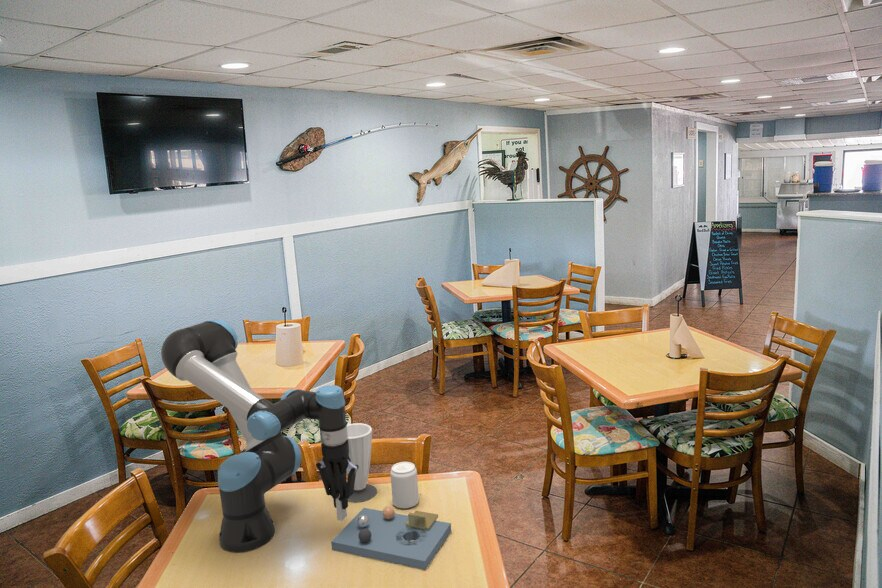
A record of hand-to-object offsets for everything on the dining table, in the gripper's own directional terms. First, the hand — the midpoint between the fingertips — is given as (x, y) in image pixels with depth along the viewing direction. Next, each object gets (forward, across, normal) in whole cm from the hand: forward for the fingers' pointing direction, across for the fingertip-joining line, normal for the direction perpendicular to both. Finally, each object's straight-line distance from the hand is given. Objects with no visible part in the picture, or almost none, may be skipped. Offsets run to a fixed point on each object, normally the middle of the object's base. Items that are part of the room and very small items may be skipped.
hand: (342, 517), depth 175 cm
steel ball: (0, +7, 0) cm, 7 cm away
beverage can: (+4, +11, +19) cm, 22 cm away
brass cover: (+2, +22, +7) cm, 23 cm away
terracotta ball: (0, +12, +6) cm, 13 cm away
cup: (+4, -6, +20) cm, 21 cm away
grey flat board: (+4, +16, 0) cm, 16 cm away
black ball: (0, +11, -6) cm, 12 cm away
